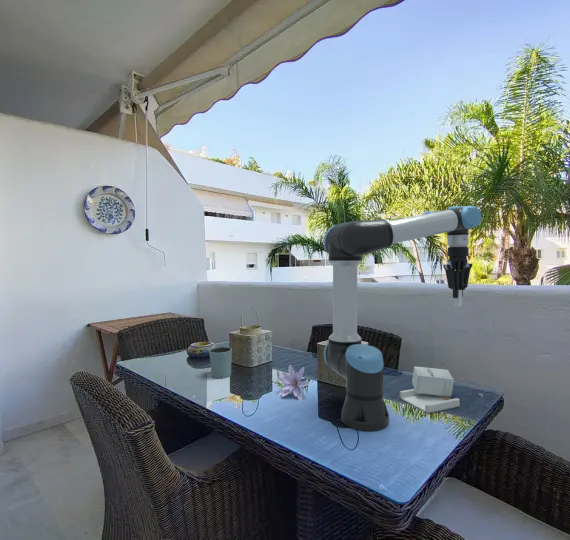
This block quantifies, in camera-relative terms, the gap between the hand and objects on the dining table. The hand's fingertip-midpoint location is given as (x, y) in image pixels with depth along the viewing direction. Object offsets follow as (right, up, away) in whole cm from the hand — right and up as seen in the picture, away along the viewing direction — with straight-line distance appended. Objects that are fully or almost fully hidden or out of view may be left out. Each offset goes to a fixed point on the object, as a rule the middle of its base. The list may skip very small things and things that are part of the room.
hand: (457, 306), depth 145 cm
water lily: (-66, -34, -4) cm, 74 cm away
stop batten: (-10, -33, -10) cm, 36 cm away
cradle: (-16, -33, -13) cm, 39 cm away
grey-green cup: (-97, -34, +20) cm, 105 cm away
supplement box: (-7, -28, -8) cm, 30 cm away
